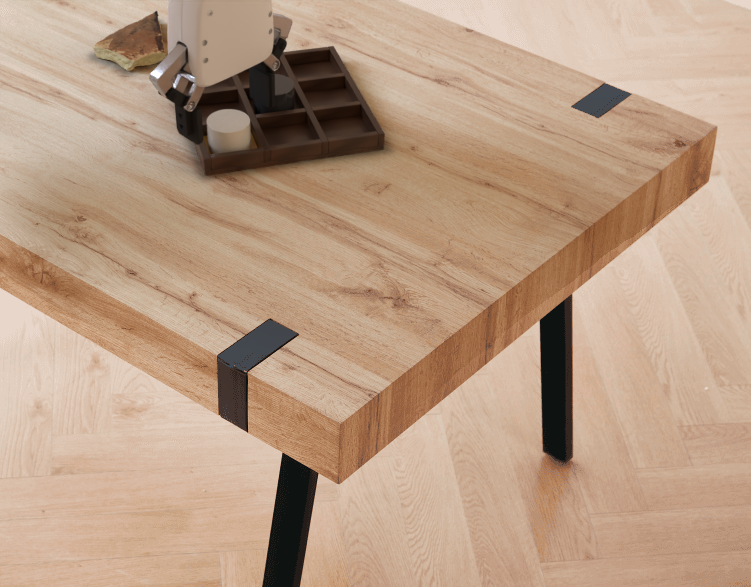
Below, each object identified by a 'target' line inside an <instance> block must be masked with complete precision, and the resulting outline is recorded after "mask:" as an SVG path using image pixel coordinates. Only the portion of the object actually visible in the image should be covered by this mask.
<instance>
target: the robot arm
mask: <svg viewBox="0 0 751 587" xmlns="http://www.w3.org/2000/svg"><path fill="white" fill-rule="evenodd" d="M167 4H168V5H167V24H166V26H167V28H166V29H167V34H166V35H167V37H166V38H167V54H166V57H165V58H164V59H163V61H160V62H159V63H158V64H157V66H156V67H155V68H154V69H153V70H152V71H151V72H150V73H149V77H148V79H149V81H150V83H151V84H152V86H153V87H154V88H155V89H156V91H157V93H158V94H159V96H161V97H163V98H165V99H166V100H168V101H170V102H171V103H173V104H174V112H175V114H174V115H175V124H176V125H175V126H176V130H177V133H178V134H179V135H180V136H181V137H184V138H185V139H187V140H188V141H190V142H191V143H193V144H194V143H195V144H197V145H199V144H200V143H202V142H203V140H204V138H203V123H202V110H201V109H200V108H199V107H198V106H196V105H197V103H198V101H199V99H200V97H201V95H202V93H203V91H204V89H205V87H208V86H211V85H214V84H216V83H218V82H220V81H223V80H225V79H227V78H229V77H231V76H234V75H236V74H238V73H240V72H242V71H244V70H246V69H248V68H249V87H250V97H251V98H252V99H254V100H255V101H257V102H259V103H261V104H262V105H264V106H266V107H268V108H272V107H274V106H275V73H274V71H277V70H278V69H279V67H280V61H279V58H280V57H281V55H282V53H283V52H285V50H286V48H287V47H288V46H287V45H288V42H287V39H288V38H289V35H290V32H291V30H292V26H293V19H291V18H290V17H288V16H285V15H284V14H280V13H276V12H273V3H272V0H168V2H167ZM176 73H179V74H178V76H177V78H176V80H175V82H174V84H173V82H172V78H173V77H174V75H175V74H176ZM189 81H191V82H192V83H193V85H192V87H191V89H190V91H189V93H188V95H187V96H186V95H185V94H183V92H184V90H185V88H186V86H187V84H188V82H189Z"/></svg>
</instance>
